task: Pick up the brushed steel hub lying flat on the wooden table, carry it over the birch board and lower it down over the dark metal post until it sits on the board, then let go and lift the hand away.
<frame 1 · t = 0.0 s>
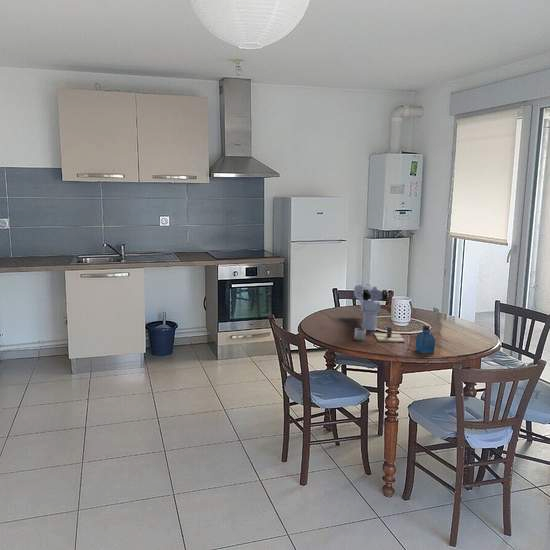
hand: (377, 296, 267), 22 cm above the table, tool horizontal, fingers open, 7 cm apart
perfume bottle: (424, 351, 251), on the table
steel hub: (359, 338, 269), on the table
post stand: (389, 338, 271), on the table
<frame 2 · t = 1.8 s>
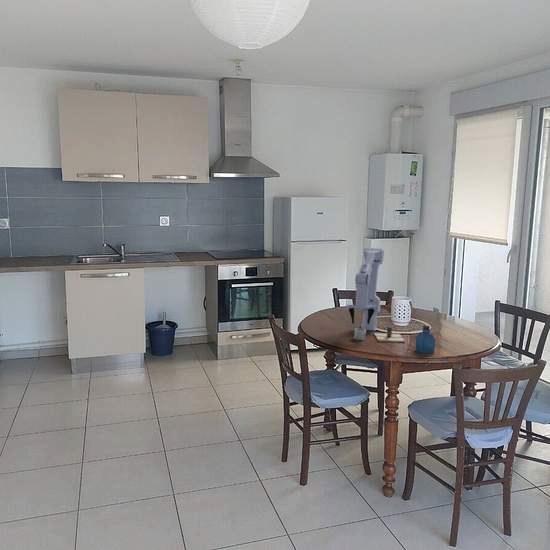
hand: (360, 323, 268), 8 cm above the table, tool pointing down, fingers open, 7 cm apart
nothing on the table moved.
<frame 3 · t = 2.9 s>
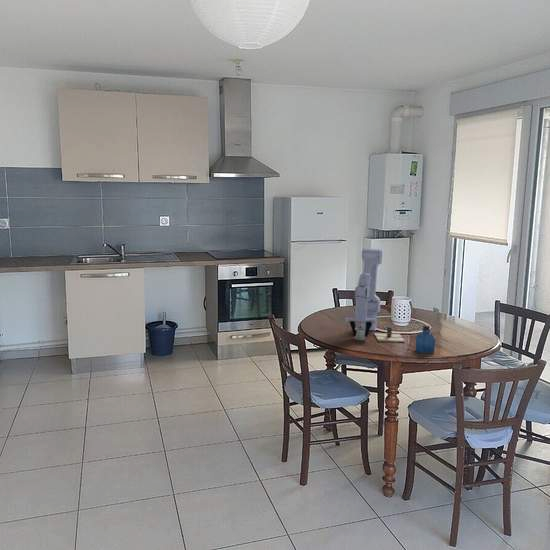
hand: (360, 336, 269), 1 cm above the table, tool pointing down, fingers closed on steel hub, 5 cm apart
steel hub: (359, 338, 269), on the table, touching gripper
everything else where it was.
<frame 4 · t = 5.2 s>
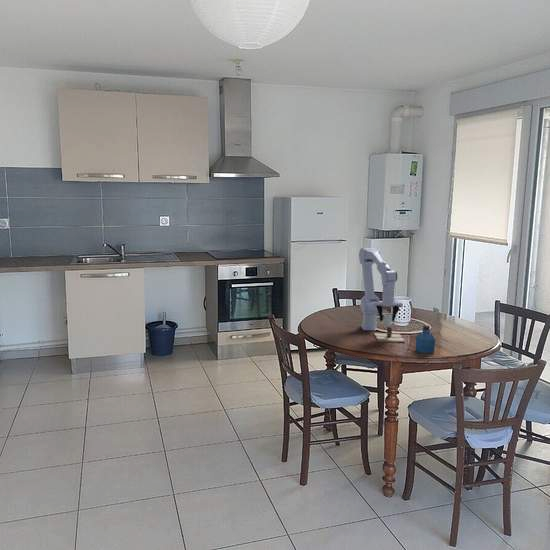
hand: (386, 320, 269), 9 cm above the table, tool pointing down, fingers closed on steel hub, 5 cm apart
steel hub: (386, 323, 269), point 8 cm above the table, touching gripper
everything else where it was.
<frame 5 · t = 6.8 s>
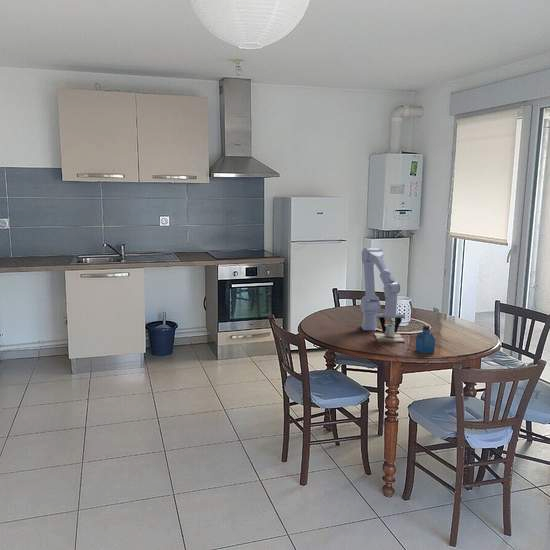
hand: (389, 332, 270), 3 cm above the table, tool pointing down, fingers closed on steel hub, 5 cm apart
steel hub: (389, 335, 270), point 2 cm above the table, touching gripper
everything else where it was.
when the fingers open (3 cm above the table, at t = 7.8 s): steel hub stays where it is, resting on post stand.
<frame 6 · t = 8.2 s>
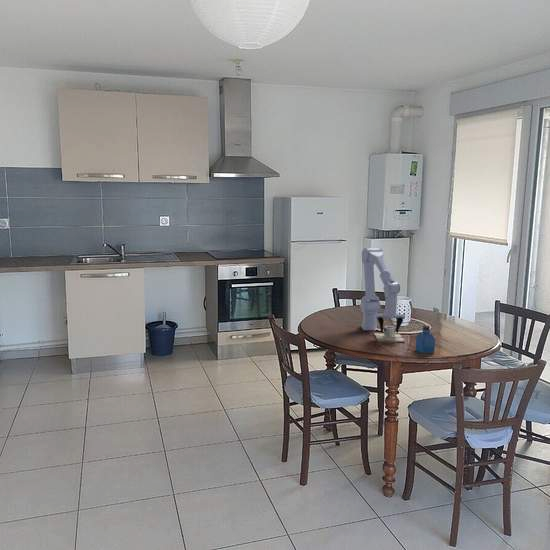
hand: (389, 332, 270), 3 cm above the table, tool pointing down, fingers open, 7 cm apart
steel hub: (389, 336, 270), point 1 cm above the table, touching post stand
everything else where it was.
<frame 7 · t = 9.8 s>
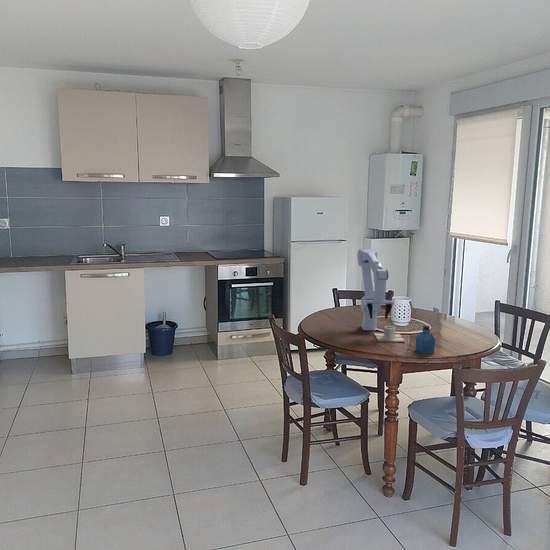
hand: (378, 318, 274), 9 cm above the table, tool pointing down, fingers open, 7 cm apart
nothing on the table moved.
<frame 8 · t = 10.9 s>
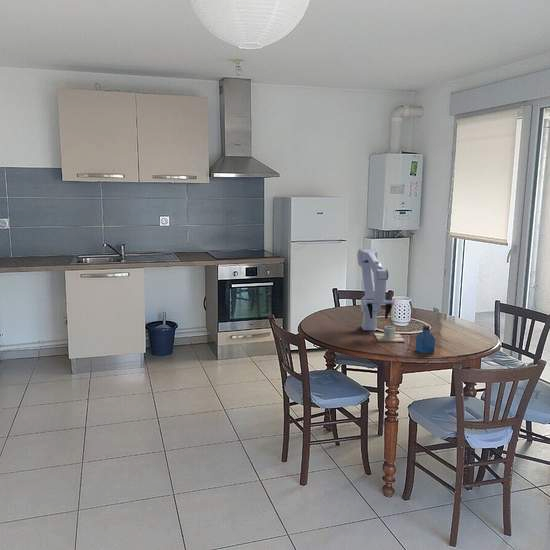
hand: (378, 318, 274), 9 cm above the table, tool pointing down, fingers open, 7 cm apart
nothing on the table moved.
at the end: steel hub 0.1 cm off-centre on the post stand, point 1.0 cm above the post stand's base; steel hub tilted 0°; the gripper is holding nothing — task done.
